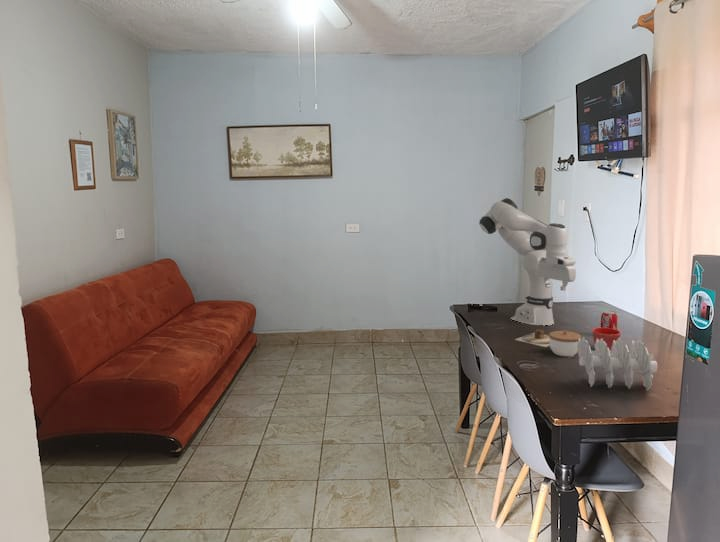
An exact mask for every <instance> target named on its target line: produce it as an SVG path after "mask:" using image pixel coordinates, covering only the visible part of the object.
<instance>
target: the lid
mask: <svg viewBox="0 0 720 542" xmlns="http://www.w3.org/2000/svg"><path fill="white" fill-rule="evenodd" d="M534 333H535V334H532V333H527V334H524V335H523V336H524V340H525V341H527V342H530V343H535V344H550V342H549V338H550V337H549V334H545V330H544V329H535V330H534ZM530 343H529V344H530Z"/></svg>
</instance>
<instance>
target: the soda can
mask: <svg viewBox="0 0 720 542" xmlns="http://www.w3.org/2000/svg"><path fill="white" fill-rule="evenodd" d="M600 328H612V329H616V330H618V314H617V312H616V311H614V310H603V311H602V314H601V315H600Z"/></svg>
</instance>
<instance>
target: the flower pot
mask: <svg viewBox="0 0 720 542" xmlns="http://www.w3.org/2000/svg"><path fill="white" fill-rule="evenodd" d="M621 334H622V332H621V331H620V330H618V329H617V330H616V329H612V328H601V327H595V328H593V329H592V338H593V344H594V346H595V343H596V339H598V341H599V340H600V339H601V338H603V341H605V343H606V344H607V348H609V350H612V349H611V348H612V344H613V340H615V342H616V341H617V339H618V338H620V339H621Z"/></svg>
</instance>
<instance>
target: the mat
mask: <svg viewBox="0 0 720 542" xmlns="http://www.w3.org/2000/svg"><path fill="white" fill-rule="evenodd" d="M531 334H535V332H532V333H531ZM524 336H525V335H523V336H521V337H517V338H515V339H514V340H515V341H518V342H522V343H523V342H524V343H527V344H531V345H534V346H538V347H543V348H547V347H550V344H535V343H530V342H527V341H525V340H524Z"/></svg>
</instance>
